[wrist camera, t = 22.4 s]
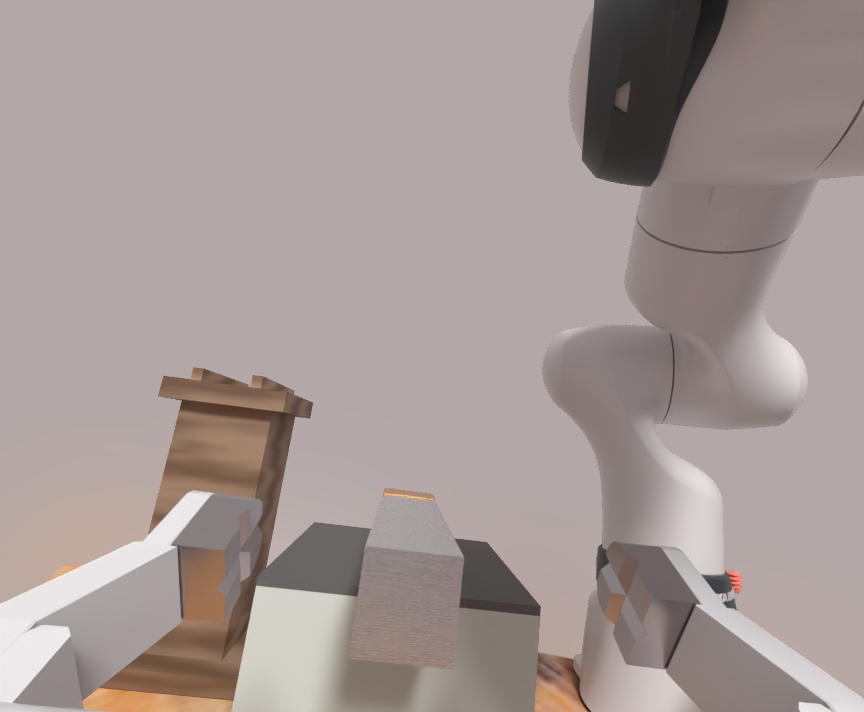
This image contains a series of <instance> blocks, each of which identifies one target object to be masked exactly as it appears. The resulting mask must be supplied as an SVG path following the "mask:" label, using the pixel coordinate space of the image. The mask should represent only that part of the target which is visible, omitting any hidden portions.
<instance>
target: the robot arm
mask: <svg viewBox="0 0 864 712" xmlns="http://www.w3.org/2000/svg"><path fill="white" fill-rule="evenodd" d="M569 107H570V117H571V122H572V127H573V130H574V133H575V136H576V139H577V142H578V144H579V146H580V148H581V150H582V161H583V162H584V163H585V165H586V166H587V167H588V168H589V170H590V171H591V172H592V174H593V175H594V176H595V177H596V178H599V179H603V180H606V181H611V182H615V183H620V184H627V185H635V186H643V188H642V192H641V196H640V200H639V205H638V210H637V215H636V221H635V226H634V231H633V237H632V242H631V247H630V253H629V258H628V263H627V269H626V274H625V288H626V292H627V295H628V297H629V299H630V301H631V303H632V304H633V305H634V306H635V308H636V309H637V310H638V311H639V312H640V314H642V316H643V317H644V318H646V319H647V320H648V321H649V322H650V323H652V324H653V325H655V326H634V325H632V326H631V325H595V326H588V327H581V328H575V329H569V330H564V331H562V332H561V333H560V334H559V335H558V336H557V337H556V338H555V339H554V340H553V341H552V343H551V344H550V345H549V347H548V349H547V351H546V354H545V357H544V360H543V367H542V374H543V380H544V384H545V387H546V389H547V392H548V394H549V395H550V397H551V399H552V400H553V401H554V402H555V404H556V405H557V406H558V407H559V408H561V409H562V410H563V411H564V412H566V413H567V414H568V415H569V416H570V417H571V418H572V419H573V420H574V421H575V423H576V424H577V425H578V426H579V427H580V429H581V430H582V431H583V433H584V434H585V436H586V438H587V439H588V441H589V443H590V445H591V446H592V449H593V451H594V454H595V457H596V459H597V463H598V467H599V471H600V477H601V487H602V508H603V530H602V531H603V532H602V544H601V545H600V546H598V553H597V558H596V566H597V569H596V571H597V573H596V580H597V590H595V591H593V593H591V594H590V596H589V600H588V608H587V615H586V623H585V631H584V640H583V648H582V654H581V655H576V656H575V657H574V662H573V668H574V670H575V672H576V673H577V675H578V676H579V678H580V694H581V697H582V699H583V701H584V703H585V704H586V706H587V707H588V708H589V710H590V711H591V712H864V699H863V698H862V697H860V696H859V695H857V694H856V693H855V692H853V691H852V690H850V689H849V688H847V687H846V686H844V685H843V684H842V683H840V682H839V681H837V680H836V679H834V678H833V677H831V676H830V675H829V674H827V673H826V672H824V671H823V670H821V669H820V668H818V667H817V666H816V665H814V664H813V663H811V662H810V661H808V660H807V659H805V658H804V657H803V656H801V655H800V654H798V653H797V652H795V651H794V650H792V649H791V648H790V647H788V646H787V645H785V644H784V643H782V642H781V641H779V640H778V639H776V638H775V637H774V636H772V635H771V634H769V633H768V632H766V631H765V630H764V629H762V628H761V627H759V626H758V625H756V624H755V623H753V622H752V621H751V620H749V619H748V618H746V617H745V616H743V615H742V614H741V613H739V612H738V611H737V609H736V604H735V599H734V598H735V593H739V592H740V591H741V590H740V588H742V586H741V585H740V584H742V581H740V580H741V579H742V578H741V577H739V575H740V574H739V573H738V572H735V571H727V570H725V559H724V558H725V557H724V524H723V523H724V521H723V499H722V496H721V493H720V491H719V489H718V488H717V486H716V484H715V483H714V482H713V481H712V480H711V478H710V477H709V476H708V475H706V474H705V473H704V472H702V471H701V470H700V469H698V468H697V467H695V466H693V465H691V464H690V463H689V462H687V461H685V460H683V459H681V458H680V457H678V456H676V455H674V454H672V453H671V452H669V451H667V450H666V449H665V447H664V446H663V445H662V443H661V442H660V440H659V438H658V435H657V432H656V428H655V424H671V425H682V426H692V427H703V428H714V429H725V430H728V429H745V428H746V429H747V428H758V427H770V426H778V425H781V424H783V423H784V422H786V421H787V420H788V419H789V418H791V417H792V416H793V415H794V414H795V413H796V411H797V410H798V409H799V407H800V406H801V405H802V403H803V401H804V398H805V396H806V392H807V388H808V376H807V370H806V367H805V364H804V361H803V360H802V358H801V356H800V354H799V353H798V352H797V350H796V349H795V348H794V347H793V346H792V345H791V344H790V343H789V342H788V341H787V340H785V339H783V338H782V337H780V336H778V335H777V334H776V333H774V332H773V330H772V329H771V328H770V327H769V325H768V323H767V321H766V318H765V305H766V300H767V297H768V295H769V292H770V289H771V286H772V284H773V281H774V279H775V276H776V274H777V271H778V269H779V267H780V264H781V262H782V260H783V258H784V256H785V253H786V251H787V249H788V247H789V245H790V243H791V241H792V239H793V237H794V235H795V233H796V231H797V229H798V227H799V225H800V223H801V220H802V218H803V216H804V214H805V212H806V209H807V207H808V205H809V203H810V200H811V198H812V195H813V193H814V190H815V188H816V185H817V183H818V180H819V179H829V178H841V177H851V176H861V175H864V0H595V1H594V8H593V10H592V11H591V13H590V15H589V17H588V19H587V21H586V23H585V26H584V28H583V31H582V33H581V36H580V38H579V41H578V44H577V48H576V51H575V54H574V58H573V63H572V68H571V73H570V83H569ZM261 516H262V502H261V500H260V499H255V498H248V497H241V496H234V495H227V494H220V493H210V492H203V491H196V490H193V491H191V492H188V493H187V494H186V495H185V496H184V497H183V498H182V499H181V500H180V501H179V502H178V503H177V505H176V506H175V507H174V508H173V509H172V510H171V511H170V512H169V513H168V514H167V515H166V516H165V518H164V519H163V520H162V521H161V522H160V523H159V524H158V525H157V526H156V527H155V528H154V530H153V531H152V532H151V533H150V534H149V535H148V536H147V537H146V538H145V539H144V541H142V542H132V543H130V544H128V545H126V546H124V547H121V548H120V549H117V550H115V551H113V552H111V553H109V554H107V555H104V556H102V557H100V558H98V559H96V560H94V561H91V562H89V563H87V564H85V565H83V566H81V567H79V568H76V569H74V570H72V571H70V572H68V573H66V574H64V575H61V576H59V577H57V578H55V579H53V580H51V581H48V582H46V583H44V584H42V585H40V586H38V587H36V588H33V589H31V590H29V591H27V592H25V593H23V594H21V595H18V596H16V597H14V598H12V599H10V600H8V601H6V602H4V603H1V604H0V712H105V711H94V710H84V709H83V704H82V701H83V700H84V699H85V698H86V697H88V696H89V695H90V694H91V693H93V692H94V691H95V690H97V689H98V688H99V687H100V686H102V685H103V684H104V683H105V682H107V681H108V680H109V679H110V678H112V677H113V676H114V675H115V674H117V673H118V672H119V671H120V670H122V669H123V668H124V667H126V666H127V665H128V664H129V663H131V662H132V661H133V660H134V659H136V658H137V657H138V656H139V655H141V654H142V653H143V652H144V651H146V650H147V649H148V648H149V647H151V646H152V645H153V644H155V643H156V642H157V641H158V640H160V639H161V638H162V637H163V636H165V635H166V634H167V633H168V632H170V631H171V630H172V629H173V628H175V627H176V626H177V625H179V624H180V623H181V619H182V620H196V621H210V622H223V623H226V621H227V619H228V617H229V615H230V613H231V611H232V609H233V607H234V605H235V603H236V602H237V600H238V598H239V596H240V594H241V582H242V581H243V580H245V579H246V578H247V577H249V576H250V575H251V572H252V570H253V568H254V566H255V564H256V561H257V558H258V555H259V552H260V547H261V541H262V530H261V529H260V527H259V526H258V525H257V523H258V521H259V519H260V518H261Z"/></svg>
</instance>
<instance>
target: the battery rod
mask: <svg viewBox="0 0 864 712" xmlns="http://www.w3.org/2000/svg"><path fill="white" fill-rule="evenodd" d="M463 564H464V556H463V554H462V552H461V550H460V548H459V546H458V545H457V543H456V541H455V539H454V537H453V535H452V533H451V531H450V529H449V527H448V525H447V523H446V522H445V520H444V518H443V516H442V514H441V512H440V510H439V508H438V506H437V504H436V502H435V498H434V496H433V494H430V493H422V492H413V491H405V490H396V489H388V488H385V489H384V492H383V498H382V500H381V503H380V506H379V509H378V511H377V514H376V517H375V520H374V523H373V525H372V528H371V531H370V534H369V536H368V539H367V542H366V545H365V550H364V556H363V563H362V570H361V577H360V584H359V591H358V597H357V604H356V611H355V618H354V625H353V631H352V638H351V645H350V652H349V659H354V660H364V661H373V662H383V663H393V664H403V665H412V666H422V667H432V668H442V669H452V670H453V665H454V655H455V645H456V635H457V625H458V615H459V604H460V594H461V584H462V574H463Z"/></svg>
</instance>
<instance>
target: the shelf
mask: <svg viewBox="0 0 864 712" xmlns="http://www.w3.org/2000/svg"><path fill="white" fill-rule="evenodd" d="M370 531H371V529H367V528H358V527H350V526H342V525H333V524H324V523H316V522H315V523H313V524H312V525H311V526H310V527H309V528H308V529H307V530H306V531H305V532H304V533H303V534H302V535H301V536H300V537H299V538H297V540H295V541H294V542H293V543H292V544H291V545H290V546H289V547H288V548H287V549H286V550H285V551H284V552H283V553H282V554H281V555H280V556H279V557H277V558H276V559H275V560H274V561H273V562H272V563H271V564H270V565H269V566H268V567H267V568H266V569H265V570H264V571H263V572H262V573H261V574H259V575H258V579H257V584H256V589H255V594H254V599H253V604H252V609H251V614H250V620H249V625H248V630H247V635H246V640H245V645H244V650H243V655H242V661H241V666H240V671H239V676H238V681H237V686H236V691H235V696H234V702H233V707H232V712H534V707H535V690H536V674H537V657H538V641H539V624H540V608H541V607H540V605H539V604H538V603H537V602H536V600H535V599H534V598H533V597H532V596H531V595H530V593H529V592H528V591H527V590H526V589H525V587H524V586H523V585H522V584H521V583H520V581H519V580H518V579H517V578H516V577H515V575H514V574H513V573H512V572H511V571H510V569H509V568H508V567H507V566H506V565H505V564H504V562H503V561H502V560H501V559H500V557H499V556H498V555H497V554H496V553H495V552H494V550H493V549H492V548H491V547H490V545H489V544H488V543H487V542H480V541H472V540H463V539H455V541H456V543H457V545H458V546H459V548H460V550H461V552H462V554H463V556H464V564H463V574H462V584H461V594H460V604H459V615H458V625H457V635H456V645H455V655H454V665H453V670H452V669H442V668H432V667H422V666H412V665H403V664H393V663H383V662H373V661H364V660H354V659H349V652H350V645H351V638H352V631H353V625H354V618H355V611H356V604H357V597H358V591H359V584H360V577H361V570H362V563H363V556H364V550H365V545H366V542H367V539H368V536H369V534H370Z"/></svg>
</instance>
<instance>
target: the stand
mask: <svg viewBox="0 0 864 712" xmlns="http://www.w3.org/2000/svg"><path fill="white" fill-rule="evenodd" d="M158 396H161V397H165V398H171V399H177V400H182V402H181V406H180V410H179V414H178V418H177V422H176V426H175V430H174V434H173V438H172V442H171V446H170V450H169V454H168V458H167V462H166V466H165V470H164V474H163V478H162V482H161V486H160V490H159V493H158V497H157V501H156V506H155V509H154V513H153V517H152V521H151V526H150V530H149V533H148V535H149V534H150V533H151V532H152V531H153V530H154V528H155V527H156V526H157V525H158V524H159V523H160V522H161V521H162V520H163V519H164V518H165V516H166V515H167V514H168V513H169V512H170V511H171V510H172V509H173V508H174V507H175V506H176V505H177V503H178V502H179V501H180V500H181V499H182V498H183V497H184V496H185V495H186V494H187V493H188V492H191V491H193V490H196V491H203V492H210V493H220V494H227V495H234V496H241V497H248V498H255V499H260V500H261V502H262V516H261V518H260V519H259V521H258V523H257V525H258V526H259V527H260V529H261V530H262V541H261V547H260V552H259V555H258V558H257V561H256V564H255V566H254V568H253V570H252V572H251V575H250V576H249V577H247V578H246V579H245V580H243V581H242V582H241V594H240V596H239V598H238V600H237V602H236V603H235V605H234V607H233V609H232V611H231V613H230V615H229V617H228V619H227V621H226V623H223V622H210V621H196V620H182V619H181V623H180V624H179V625H177V626H176V627H175V628H173V629H172V630H171V631H170V632H168V633H167V634H166V635H165V636H163V637H162V638H161V639H160V640H158V641H157V642H156V643H155V644H153V645H152V646H151V647H149V648H148V649H147V650H146V651H144V652H143V653H142V654H141V655H139V656H138V657H137V658H136V659H134V660H133V661H132V662H131V663H129V664H128V665H127V666H126V667H124V668H123V669H122V670H120V671H119V672H118V673H117V674H115V675H114V676H113V677H112V678H110V679H109V680H108V681H107V682H105V683H104V684H103V685H102V686H100V687H99V688H110V689H121V690H131V691H142V692H152V693H163V694H174V695H184V696H195V697H205V698H216V699H227V700H234V696H235V691H236V686H237V681H238V676H239V671H240V666H241V661H242V655H243V650H244V645H245V640H246V635H247V630H248V625H249V620H250V614H251V609H252V604H253V599H254V594H255V589H256V584H257V579H258V575H259V574H261V573H262V572H263V571H264V570H265V569H266V565H267V560H268V554H269V549H270V544H271V539H272V534H273V529H274V523H275V518H276V513H277V508H278V503H279V497H280V492H281V487H282V482H283V476H284V471H285V466H286V460H287V456H288V451H289V445H290V440H291V435H292V430H293V425H294V419H295V417H303V418H310V416H311V410H312V405H313V403H312V402H310V401H308V400H305V399H303V398H300V397H298V396H296V395H294V390H291V389H289V388H287V387H285V386H282V385H280V384H278V383H276V382H274V381H272V380H270V379H267V378H265V377H263V376H254V375H253V378H252V383H251V387H248V385H247V384H245V383H242V382H239V381H236V380H234V379H231V378H228V377H225V376H223V375H220V374H217V373H214V372H211V371H209V370H206V369H201V368H193V372H192V376H191V379H184V378H176V377H168V376H163V380H162V384H161V387H160V391H159V395H158Z"/></svg>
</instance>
